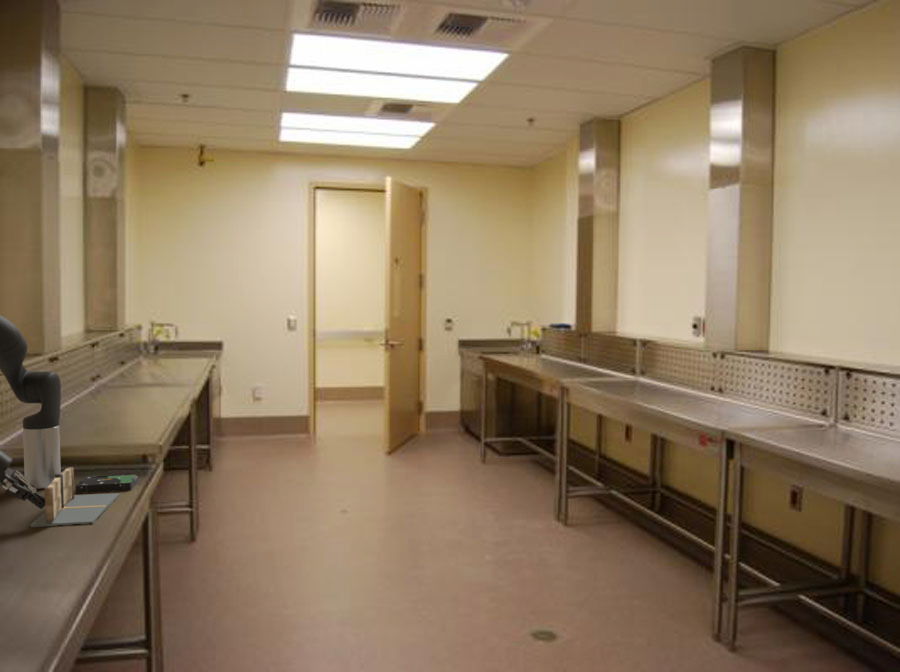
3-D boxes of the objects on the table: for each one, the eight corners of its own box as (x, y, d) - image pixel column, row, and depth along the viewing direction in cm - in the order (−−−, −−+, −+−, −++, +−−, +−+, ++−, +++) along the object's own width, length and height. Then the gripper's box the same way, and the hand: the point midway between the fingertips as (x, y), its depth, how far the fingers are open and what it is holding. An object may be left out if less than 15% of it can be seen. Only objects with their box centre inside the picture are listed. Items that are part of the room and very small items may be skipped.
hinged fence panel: (54, 508, 186) (53, 477, 186) (62, 508, 187) (61, 476, 186) (44, 522, 175) (43, 489, 175) (53, 522, 176) (52, 488, 175)
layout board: (65, 497, 199) (64, 495, 199) (119, 495, 202) (119, 493, 202) (30, 527, 175) (30, 524, 175) (93, 523, 178) (92, 521, 178)
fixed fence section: (68, 500, 197) (67, 465, 197) (75, 499, 198) (74, 465, 197) (55, 511, 187) (53, 475, 187) (62, 511, 187) (61, 474, 187)
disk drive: (75, 495, 204) (132, 491, 208) (74, 485, 204) (131, 482, 207) (84, 485, 214) (138, 482, 218) (84, 476, 214) (138, 473, 217)
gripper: (-7, 453, 166) (55, 500, 172) (1, 442, 178) (58, 486, 184) (-34, 478, 164) (30, 525, 170) (-24, 465, 176) (35, 509, 182)
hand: (45, 505), depth 177 cm, fingers closed
